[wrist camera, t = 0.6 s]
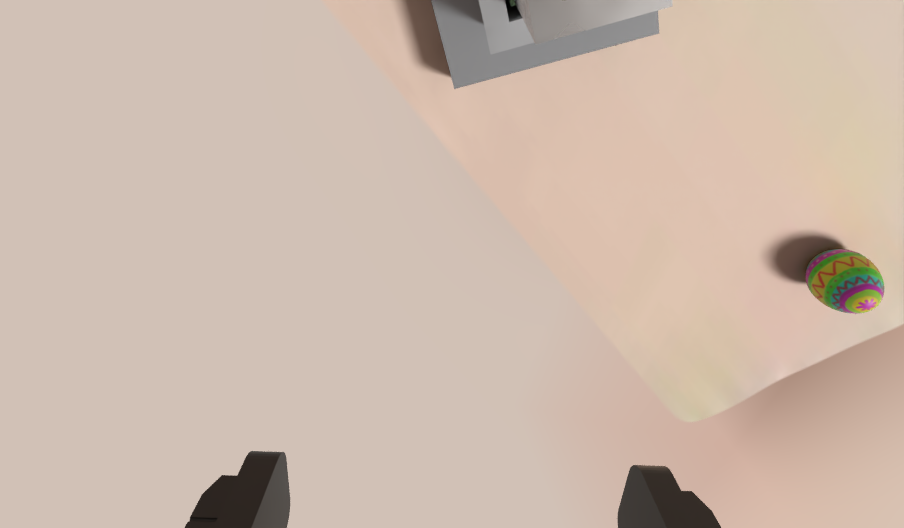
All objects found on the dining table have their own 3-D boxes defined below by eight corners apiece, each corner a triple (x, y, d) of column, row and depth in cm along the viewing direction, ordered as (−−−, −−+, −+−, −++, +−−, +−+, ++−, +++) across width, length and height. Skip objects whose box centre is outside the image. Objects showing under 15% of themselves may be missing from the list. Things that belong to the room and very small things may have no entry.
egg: (817, 296, 47) (857, 338, 42) (785, 268, 46) (823, 308, 41) (868, 261, 45) (917, 302, 40) (837, 231, 44) (883, 269, 38)
